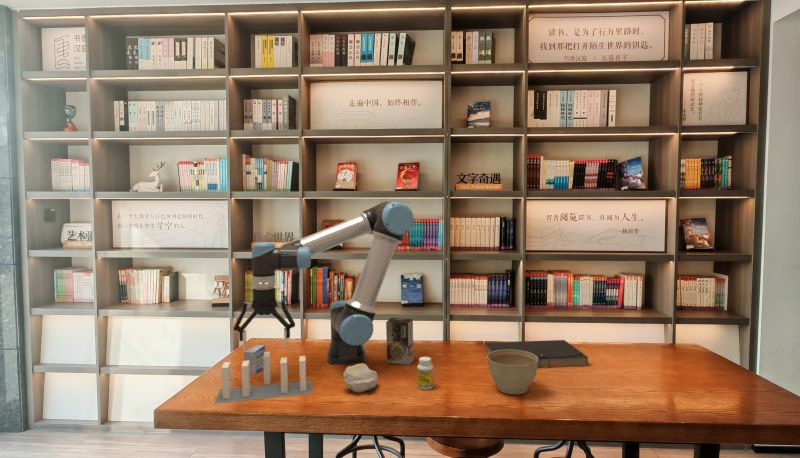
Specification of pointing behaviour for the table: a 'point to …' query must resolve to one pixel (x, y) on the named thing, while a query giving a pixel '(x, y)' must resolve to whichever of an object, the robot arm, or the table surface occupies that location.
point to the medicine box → (255, 358)
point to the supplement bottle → (425, 373)
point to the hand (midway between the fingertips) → (265, 348)
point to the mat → (265, 392)
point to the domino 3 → (267, 367)
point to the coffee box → (399, 340)
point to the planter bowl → (512, 370)
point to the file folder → (545, 352)
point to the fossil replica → (360, 378)
